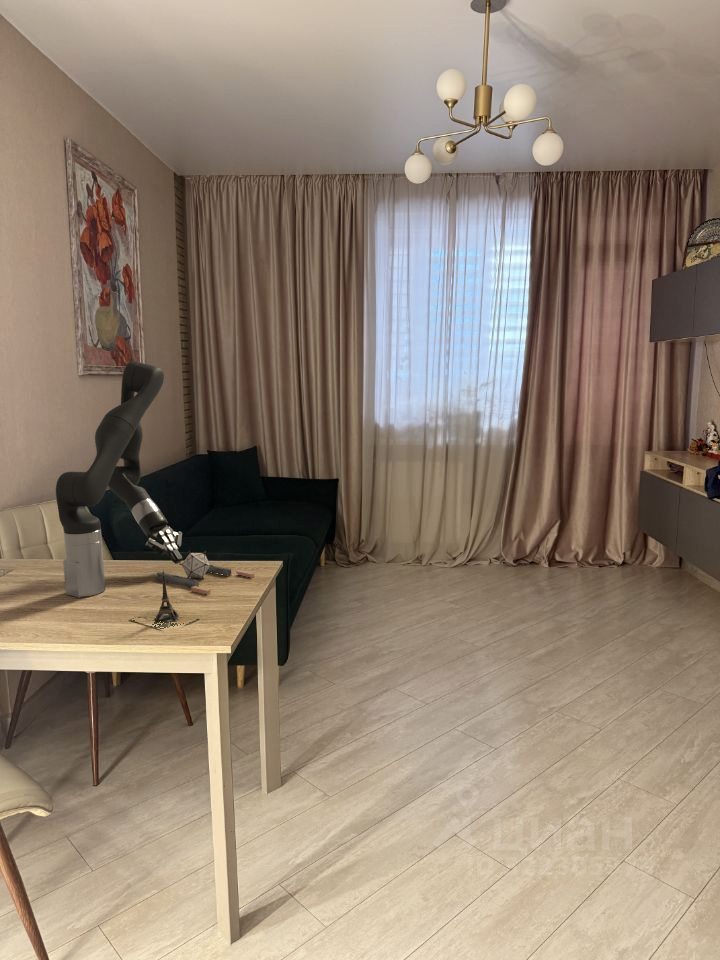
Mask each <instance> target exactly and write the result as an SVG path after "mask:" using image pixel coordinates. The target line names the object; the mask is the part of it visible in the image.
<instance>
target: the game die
mask: <svg viewBox="0 0 720 960" xmlns="http://www.w3.org/2000/svg"><path fill="white" fill-rule="evenodd" d="M206 552H207V550H204V551H203V552H191V550H188V555H187V556H186V558H185V559H184V560H183V562H182V563H181V562H180V563H178V565H179V566H182V568H183V570H184V572H185V574H186V578H189V579H190V578H202V580H205V577H204V576H205V575H206V574H207V573H208V572H207V570H208V569H209V568H210V566H211V567H213V566H214V565H213V564H210V562H209V559H208V558H207V555H206Z"/></svg>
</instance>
